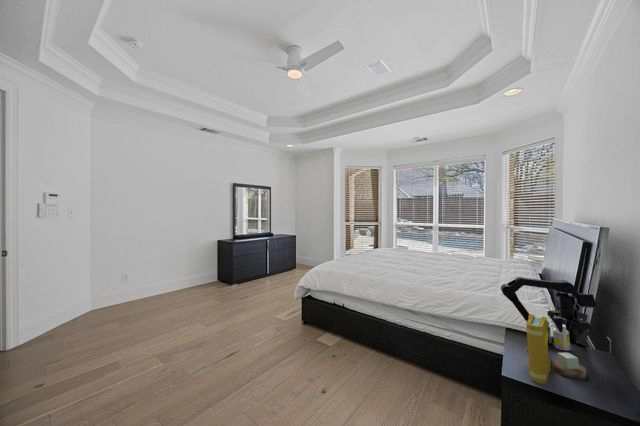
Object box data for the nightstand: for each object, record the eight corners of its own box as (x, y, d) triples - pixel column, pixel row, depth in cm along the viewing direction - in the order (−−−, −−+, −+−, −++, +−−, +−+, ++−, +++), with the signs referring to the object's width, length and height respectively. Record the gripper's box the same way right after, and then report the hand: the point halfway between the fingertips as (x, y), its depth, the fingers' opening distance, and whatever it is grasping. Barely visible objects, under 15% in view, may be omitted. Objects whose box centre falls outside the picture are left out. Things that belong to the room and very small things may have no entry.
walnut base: (567, 379, 117) (566, 373, 118) (545, 364, 129) (544, 359, 130) (594, 378, 117) (594, 373, 117) (570, 364, 129) (569, 359, 129)
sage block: (567, 369, 121) (566, 358, 121) (558, 363, 126) (557, 352, 126) (578, 368, 121) (578, 358, 121) (568, 363, 126) (568, 352, 126)
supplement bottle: (566, 346, 147) (564, 323, 147) (573, 351, 140) (571, 327, 141) (551, 344, 149) (549, 322, 149) (557, 350, 143) (556, 326, 143)
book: (532, 364, 130) (529, 314, 131) (550, 369, 125) (547, 317, 126) (527, 379, 118) (524, 324, 119) (547, 385, 113) (543, 328, 114)
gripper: (602, 311, 124) (604, 344, 124) (566, 299, 143) (568, 328, 142) (578, 312, 125) (580, 344, 124) (545, 300, 143) (547, 328, 143)
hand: (569, 336), depth 133 cm, fingers open, 9 cm apart
